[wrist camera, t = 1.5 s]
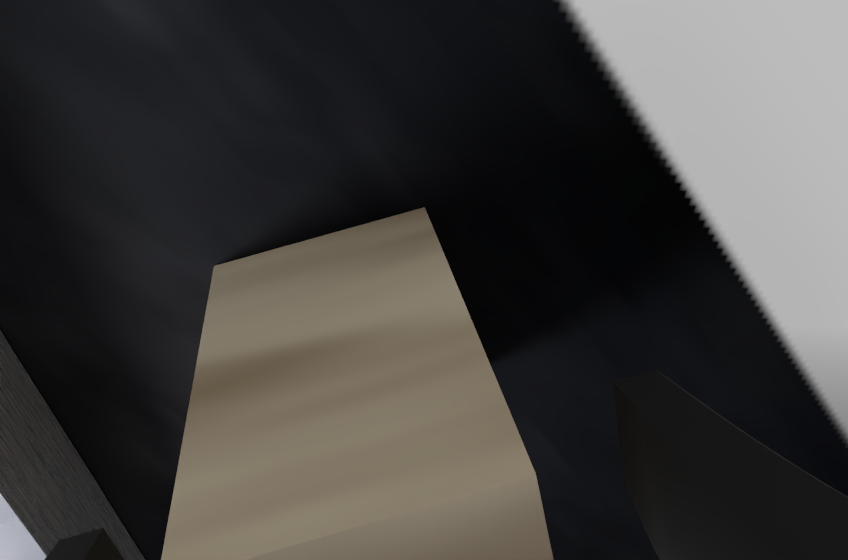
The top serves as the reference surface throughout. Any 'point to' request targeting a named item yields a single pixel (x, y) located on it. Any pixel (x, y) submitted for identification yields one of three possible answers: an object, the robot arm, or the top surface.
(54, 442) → the board with rectangular recess
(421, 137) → the top surface
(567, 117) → the top surface
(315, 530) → the peg
